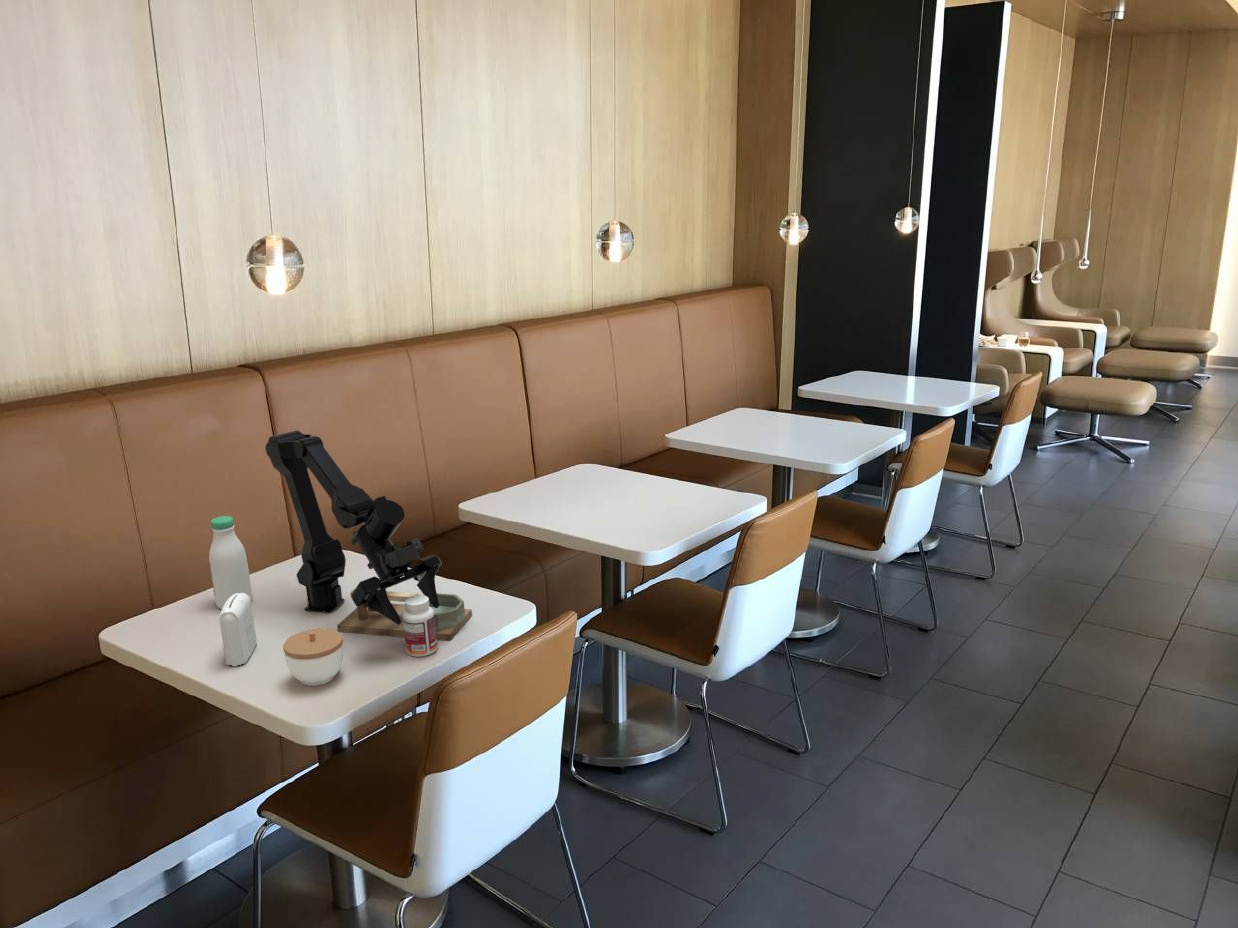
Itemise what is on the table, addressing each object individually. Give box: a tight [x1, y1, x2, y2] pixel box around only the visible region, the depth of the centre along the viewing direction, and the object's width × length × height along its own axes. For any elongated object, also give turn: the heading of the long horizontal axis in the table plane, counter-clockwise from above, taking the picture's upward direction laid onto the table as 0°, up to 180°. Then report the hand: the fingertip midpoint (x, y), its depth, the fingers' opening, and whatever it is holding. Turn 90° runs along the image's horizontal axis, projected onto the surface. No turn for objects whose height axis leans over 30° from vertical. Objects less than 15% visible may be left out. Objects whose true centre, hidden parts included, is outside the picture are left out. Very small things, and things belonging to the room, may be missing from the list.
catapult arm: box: [349, 588, 466, 631], centre depth 215 cm, size 24×10×5 cm, turn 77°
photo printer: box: [219, 593, 257, 667], centre depth 203 cm, size 10×4×12 cm, turn 5°
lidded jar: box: [282, 628, 344, 687], centre depth 193 cm, size 11×11×9 cm
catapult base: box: [336, 602, 473, 642], centre depth 215 cm, size 25×12×7 cm, turn 77°
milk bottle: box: [208, 515, 253, 610], centre depth 226 cm, size 8×8×20 cm
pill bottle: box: [402, 594, 438, 658], centre depth 203 cm, size 6×6×11 cm
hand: (419, 615), depth 202 cm, fingers open, 9 cm apart
